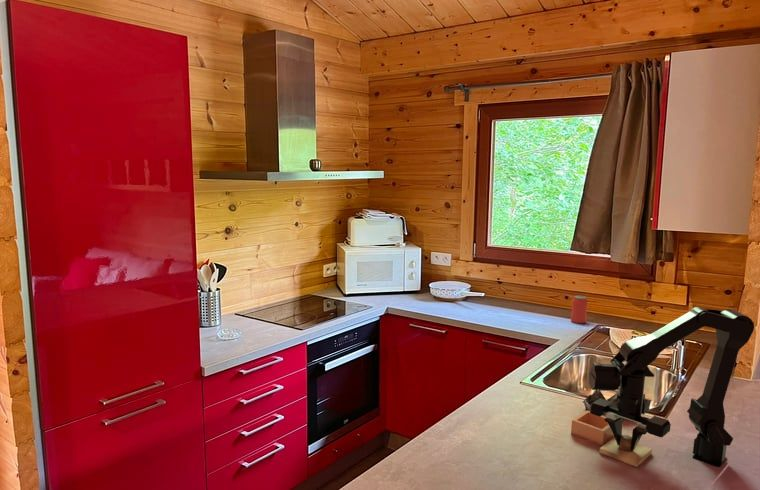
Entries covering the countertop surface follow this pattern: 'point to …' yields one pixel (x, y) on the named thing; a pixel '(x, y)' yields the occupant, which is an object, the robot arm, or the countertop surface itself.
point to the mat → (627, 463)
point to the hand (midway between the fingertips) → (626, 447)
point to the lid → (626, 451)
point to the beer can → (579, 309)
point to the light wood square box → (592, 428)
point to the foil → (598, 395)
